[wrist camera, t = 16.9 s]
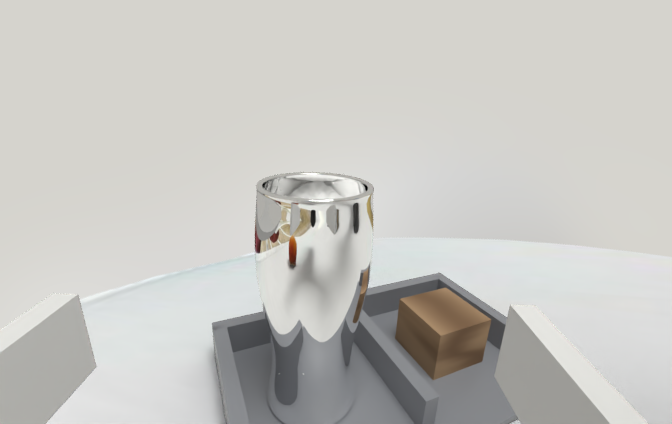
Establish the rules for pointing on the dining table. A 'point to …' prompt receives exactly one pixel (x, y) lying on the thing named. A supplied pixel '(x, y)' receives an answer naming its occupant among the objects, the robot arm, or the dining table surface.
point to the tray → (371, 368)
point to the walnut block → (441, 331)
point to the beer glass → (312, 288)
